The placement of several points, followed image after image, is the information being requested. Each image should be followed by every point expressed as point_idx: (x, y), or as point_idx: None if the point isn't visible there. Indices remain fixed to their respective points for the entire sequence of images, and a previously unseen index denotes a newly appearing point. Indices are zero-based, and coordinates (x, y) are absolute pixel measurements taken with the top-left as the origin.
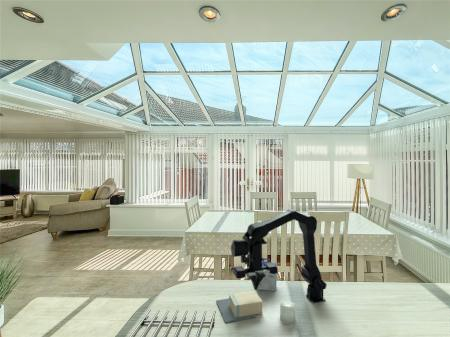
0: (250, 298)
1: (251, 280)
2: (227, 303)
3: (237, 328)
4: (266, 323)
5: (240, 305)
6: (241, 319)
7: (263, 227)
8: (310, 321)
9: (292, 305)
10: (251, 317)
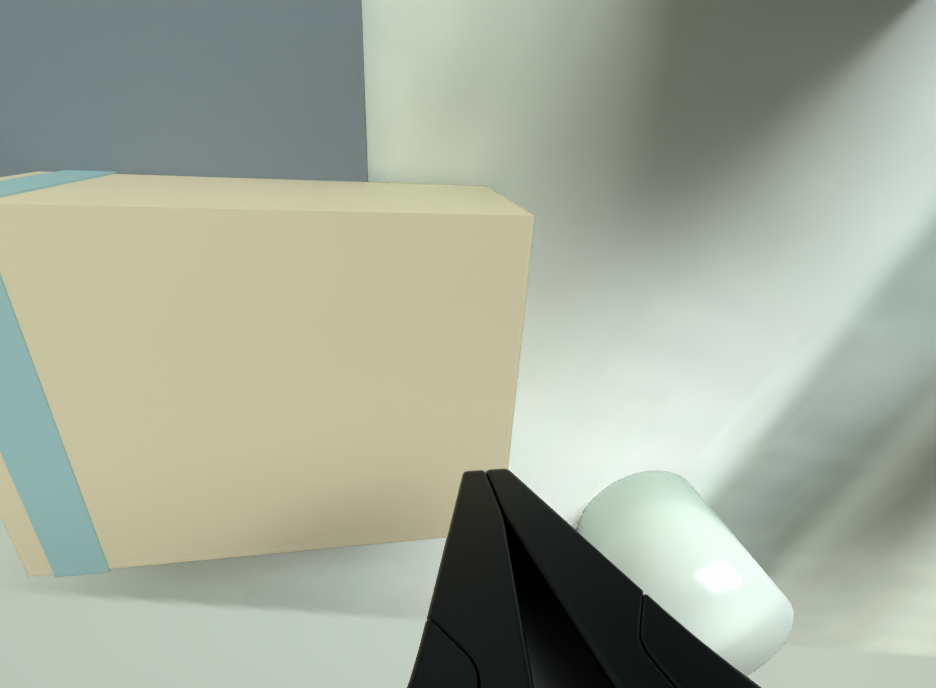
0: (349, 444)
1: (415, 682)
2: (4, 97)
3: None
4: (442, 539)
5: (134, 558)
6: None
7: None
8: (766, 560)
9: (752, 653)
10: None
